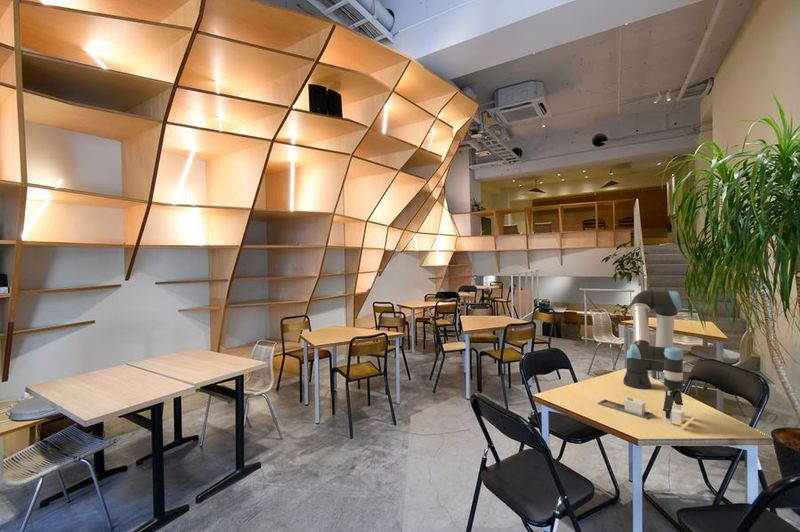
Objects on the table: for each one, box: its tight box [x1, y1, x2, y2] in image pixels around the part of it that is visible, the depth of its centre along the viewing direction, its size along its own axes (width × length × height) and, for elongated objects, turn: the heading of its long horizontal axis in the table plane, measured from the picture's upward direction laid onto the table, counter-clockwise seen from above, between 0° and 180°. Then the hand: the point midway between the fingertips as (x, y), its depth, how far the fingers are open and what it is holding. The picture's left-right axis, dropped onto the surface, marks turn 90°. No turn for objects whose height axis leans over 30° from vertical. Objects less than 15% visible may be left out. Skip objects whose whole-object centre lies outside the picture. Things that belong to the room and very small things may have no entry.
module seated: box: [624, 396, 646, 416], centre depth 194 cm, size 5×8×7 cm, turn 37°
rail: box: [597, 398, 654, 420], centre depth 198 cm, size 8×25×2 cm, turn 37°
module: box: [661, 406, 685, 424], centre depth 186 cm, size 5×8×7 cm, turn 37°
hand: (672, 420), depth 186 cm, fingers open, 13 cm apart
